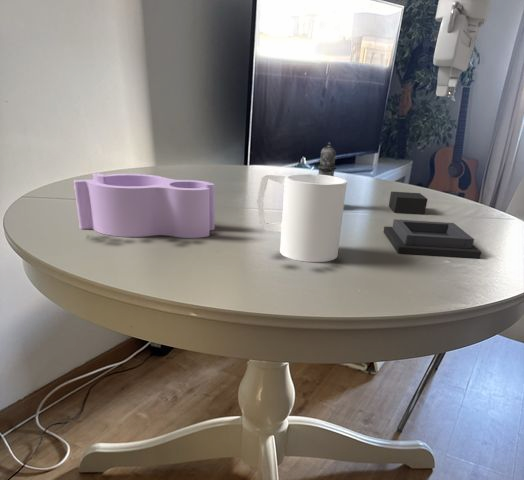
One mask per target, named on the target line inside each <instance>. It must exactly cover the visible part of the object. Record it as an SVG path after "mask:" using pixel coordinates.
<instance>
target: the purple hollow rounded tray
mask: <svg viewBox="0 0 524 480" xmlns="http://www.w3.org/2000/svg"><path fill="white" fill-rule="evenodd" d="M73 188H74V195H75V196H74V197H75V202H76V203H75V204H76V211H77V218H78V227H79V229H80V230H90V229H91V230H94V231H95V232H97V233H99V234H102V235H105V236H112V237H121V238H122V237H123V238H139V237H141V238H142V237H152V236H153V237H154V236H168V237H169V236H170V237H175V238H181V239H201V238H206V237H210V231H214V230H215V213H216V212H215V211H216V210H215V197H216V196H215V192H216V191H215V183H213V182H210V181H203V180H195V179H194V180H193V179H173V178H169V177H164V176H160V175H154V174H144V173H110V174H103V173H92V179H74V180H73Z"/></svg>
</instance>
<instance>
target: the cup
mask: <svg viewBox="0 0 524 480" xmlns="http://www.w3.org/2000/svg"><path fill="white" fill-rule="evenodd" d="M269 180H270V181H274V182H275V183H278V184H280V185H283V197H282V198H283V199H282V201H283V202H282V213H281V214H282V216H281V222H280V221H279V222H268V223H267V219H266V218H267V217H266V211H265V204H264V200H265V195H266V190H267V186H268V183H269V182H268V181H269ZM347 185H348V180H347V179H345V178H343V177H339V176H335V175H334V176H328V175H318V174H317V173H293V174H287V175H283V174H271V173H268V174H266V175H264V176H262V177H261V180H260V185H259V190H258V195H257V199H256V203H257V212H258V218H259V224H260V226H261V227H262V228H263V230H264V231H268V232H276V233H280V244H279V253H280V254H281V255H282V256H283V257H285V258H287V259H290V260H294V261H299V262H306V263H325V262H330V261H334V260H335V259H337V258H338V255H339V247H340V240H341V232H342V231H341V230H342V224H343V215H344V208H345V199H346V193H347Z"/></svg>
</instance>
